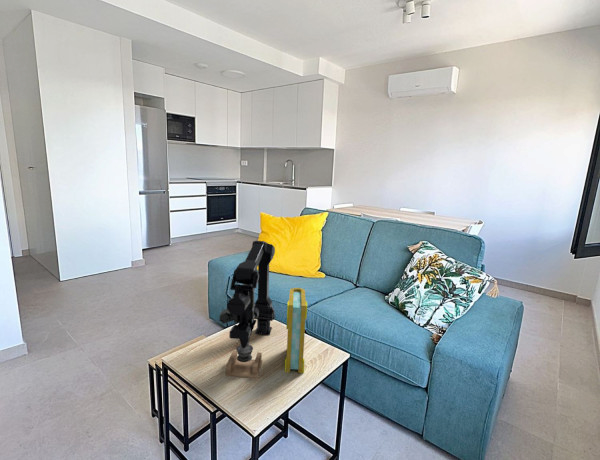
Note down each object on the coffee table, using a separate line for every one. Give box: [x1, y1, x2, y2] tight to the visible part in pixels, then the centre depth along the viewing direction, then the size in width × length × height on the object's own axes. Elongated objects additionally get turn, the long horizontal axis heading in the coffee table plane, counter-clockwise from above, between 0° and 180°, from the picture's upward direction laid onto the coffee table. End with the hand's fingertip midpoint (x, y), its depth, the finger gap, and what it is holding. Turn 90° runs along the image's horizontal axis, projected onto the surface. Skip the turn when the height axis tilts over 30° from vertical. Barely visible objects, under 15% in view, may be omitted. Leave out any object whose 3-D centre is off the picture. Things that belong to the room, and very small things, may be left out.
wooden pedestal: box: [224, 350, 263, 379], centre depth 115 cm, size 9×11×4 cm
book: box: [284, 287, 308, 374], centre depth 121 cm, size 17×7×25 cm, turn 0°
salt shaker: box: [235, 337, 254, 362], centre depth 114 cm, size 6×6×12 cm
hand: (244, 344), depth 114 cm, fingers closed on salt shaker, 3 cm apart
